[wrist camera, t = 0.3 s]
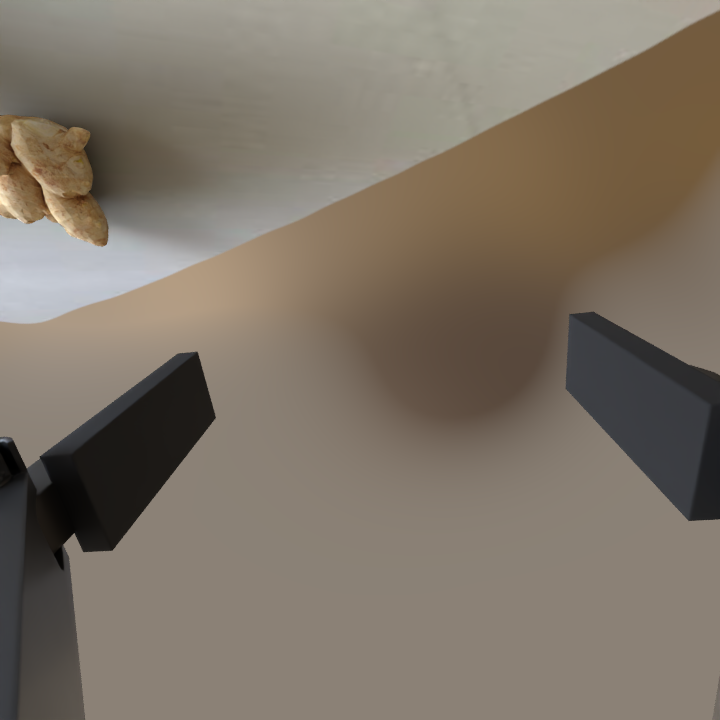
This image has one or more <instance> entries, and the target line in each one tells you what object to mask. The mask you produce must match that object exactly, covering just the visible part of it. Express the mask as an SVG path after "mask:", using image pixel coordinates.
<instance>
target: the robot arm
mask: <svg viewBox="0 0 720 720" xmlns="http://www.w3.org/2000/svg"><path fill="white" fill-rule="evenodd" d="M566 389H567V391H569V393H570V394H571V395H572V396H573V397H574V398H575V399H576V400H577V401H578V402H579V403H580V405H581V406H582V407H583V408H584V409H585V410H586V411H587V412H588V413H589V414H590V415H591V416H592V417H593V419H594V420H595V421H596V422H597V423H598V424H599V425H600V426H601V427H602V428H603V429H604V430H605V431H606V432H607V433H608V435H609V436H610V437H611V438H612V439H613V440H614V441H615V442H616V443H617V444H618V445H619V446H620V448H621V449H622V450H623V451H624V452H625V453H626V454H627V455H628V456H629V457H630V458H631V459H632V460H633V462H634V463H635V464H636V465H637V466H638V467H639V468H640V469H641V470H642V471H643V472H644V473H645V474H646V475H647V476H648V477H649V479H650V480H651V481H652V482H653V483H654V484H655V485H656V486H657V487H658V488H659V489H660V490H661V492H662V493H663V494H664V495H665V496H666V497H667V498H668V499H669V500H670V501H671V502H672V503H673V505H675V507H676V508H677V509H678V510H679V511H680V512H681V513H682V514H683V515H684V516H685V517H686V518H687V519H688V520H689V521H695V520H715V519H720V375H718V374H716V373H714V372H711V371H708V370H705V369H702V368H698V367H695V366H692V365H688V364H686V363H684V362H682V361H681V360H679V359H677V358H675V357H674V356H672V355H670V354H668V353H666V352H665V351H663V350H661V349H659V348H657V347H655V346H654V345H652V344H650V343H648V342H647V341H645V340H643V339H641V338H639V337H638V336H636V335H634V334H632V333H630V332H629V331H627V330H625V329H623V328H621V327H620V326H618V325H616V324H614V323H612V322H611V321H609V320H607V319H605V318H604V317H602V316H600V315H598V314H596V313H595V312H588V313H578V314H570V315H569V335H568V353H567V373H566ZM215 418H216V417H215V413H214V409H213V406H212V402H211V398H210V395H209V391H208V388H207V384H206V381H205V377H204V373H203V370H202V366H201V362H200V359H199V355H198V352H191V353H180V354H177V355H176V356H174V357H173V358H172V359H170V360H169V361H167V362H166V363H165V364H164V365H162V366H161V367H160V368H158V369H157V370H155V371H154V372H153V373H151V374H150V375H149V376H147V377H146V378H145V379H143V380H142V381H141V382H139V383H138V384H137V385H135V386H134V387H133V388H131V389H130V390H128V391H127V392H126V393H124V394H123V395H122V396H121V397H119V398H118V399H116V400H115V401H114V402H112V403H111V404H110V405H108V406H107V407H106V408H104V409H103V410H102V411H100V412H99V413H98V414H96V415H95V416H94V417H92V418H91V419H90V420H88V421H87V422H86V423H84V424H83V425H82V426H80V427H79V428H78V429H76V430H75V431H73V432H72V433H71V434H69V435H68V436H67V437H65V438H64V439H63V440H62V441H60V442H59V443H58V444H56V445H55V446H53V447H52V448H51V449H49V450H48V451H47V452H45V453H44V454H43V455H42V456H40V459H39V460H38V461H36V462H35V463H34V464H32V465H31V466H30V467H28V468H26V466H25V464H24V462H23V460H22V458H21V456H20V454H19V452H18V450H17V447H16V445H15V443H14V441H13V440H12V438H10V437H0V720H85V713H84V703H83V694H82V683H81V673H80V663H79V653H78V643H77V633H76V623H75V613H74V603H73V594H72V583H71V573H70V563H69V556H68V554H67V552H66V550H65V548H64V546H63V544H64V543H65V542H66V541H67V540H68V539H69V538H70V537H71V536H72V535H73V534H74V533H75V535H76V537H77V539H78V541H79V544H80V546H81V548H82V550H83V552H93V551H112V550H113V549H114V548H115V547H116V545H117V544H118V543H119V541H120V540H121V539H122V538H123V536H124V535H125V534H126V532H127V531H128V530H129V529H130V527H131V526H132V525H133V523H134V522H135V521H136V520H137V518H138V517H139V516H140V514H141V513H142V512H143V511H144V509H145V508H146V507H147V506H148V504H149V503H150V502H151V500H152V499H153V498H154V497H155V495H156V494H157V493H158V491H159V490H160V489H161V488H162V486H163V485H164V484H165V482H166V481H167V480H168V479H169V477H170V476H171V475H172V473H173V472H174V471H175V470H176V468H177V467H178V466H179V464H180V463H181V462H182V461H183V459H184V458H185V457H186V456H187V454H188V453H189V452H190V450H191V449H192V448H193V447H194V445H195V444H196V443H197V441H198V440H199V439H200V438H201V436H202V435H203V434H204V432H205V431H206V430H207V429H208V427H209V426H210V425H211V423H212V422H213V421H214V419H215ZM713 720H720V678H719V684H718V690H717V696H716V702H715V708H714V714H713Z"/></svg>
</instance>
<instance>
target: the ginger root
mask: <svg viewBox="0 0 720 720" xmlns="http://www.w3.org/2000/svg"><path fill="white" fill-rule="evenodd" d="M89 138H90V132H89V131H87V130H85V129H82V128H78V127H71V128H70V129H69V130H67V129H66V128H65V127H63V126H61V125H59V124H57V123H54V122H52V121H50V120H48V119H43V118H38V117H23V116H21V117H20V116H16V115H2V116H1V115H0V215H2V216H3V217H5V218H12V219H19V220H21V221H22V222H24V223H26V224H30V223H33V222H35V221H36V220H40V219H42V218H43V217H44V215H45V216H46V218H47V219H49V220H50V221H52V222H55V223H59V224H60V225H62V226H63V227H64V228H65V230H66V231H67V233H68V234H69V235H71V236H72V237H75V238H79V239H81V240H84V241H87V242H89V243H92V244H94V245H97V246H102V247H103V246H105V245H107V241H108V224H107V220H106V217H105V215H104V213H103V211H102V209H101V207H100V206H99V204H98V203H97V201H96V200H95V199H94V197H93V196H92V195H91V194H90V193H89V192H88V191H90V190H91V187H92V181H93V173H92V169H91V165H90V162H89V160H88V158H87V154H86V152H85V150H84V149H83V148H84V147H85V145H86V144H87V142H88V140H89Z"/></svg>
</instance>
